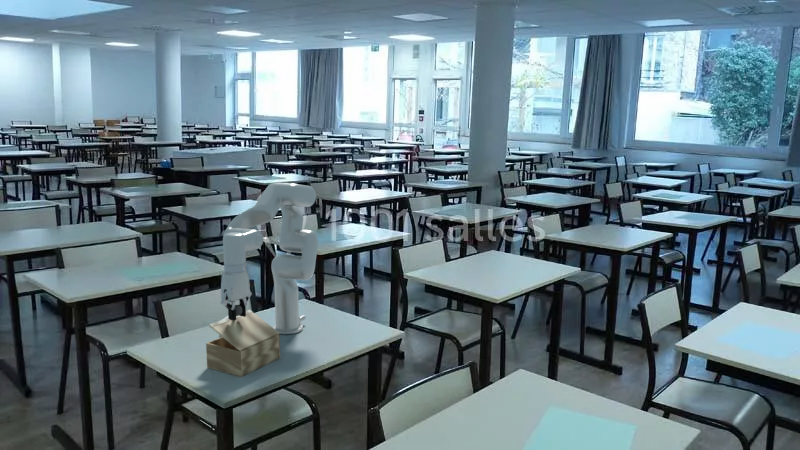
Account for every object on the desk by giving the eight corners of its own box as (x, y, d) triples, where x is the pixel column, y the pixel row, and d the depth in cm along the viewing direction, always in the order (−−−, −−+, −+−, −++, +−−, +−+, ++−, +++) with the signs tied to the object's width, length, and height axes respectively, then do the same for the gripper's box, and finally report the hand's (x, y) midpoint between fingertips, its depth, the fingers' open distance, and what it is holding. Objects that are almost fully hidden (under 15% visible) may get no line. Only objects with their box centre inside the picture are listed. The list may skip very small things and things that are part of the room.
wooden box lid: (248, 310, 234) (253, 296, 232) (279, 334, 228) (284, 319, 226) (208, 325, 218) (213, 310, 215) (239, 351, 212) (245, 335, 209)
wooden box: (247, 349, 238) (247, 326, 236) (280, 358, 230) (279, 334, 228) (207, 367, 221) (206, 343, 219) (240, 377, 213) (239, 352, 211)
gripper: (244, 261, 230) (246, 309, 233) (209, 271, 216) (211, 322, 219) (259, 264, 226) (261, 313, 229) (225, 274, 212) (227, 326, 215)
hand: (237, 317), depth 224 cm, fingers closed on wooden box lid, 4 cm apart
